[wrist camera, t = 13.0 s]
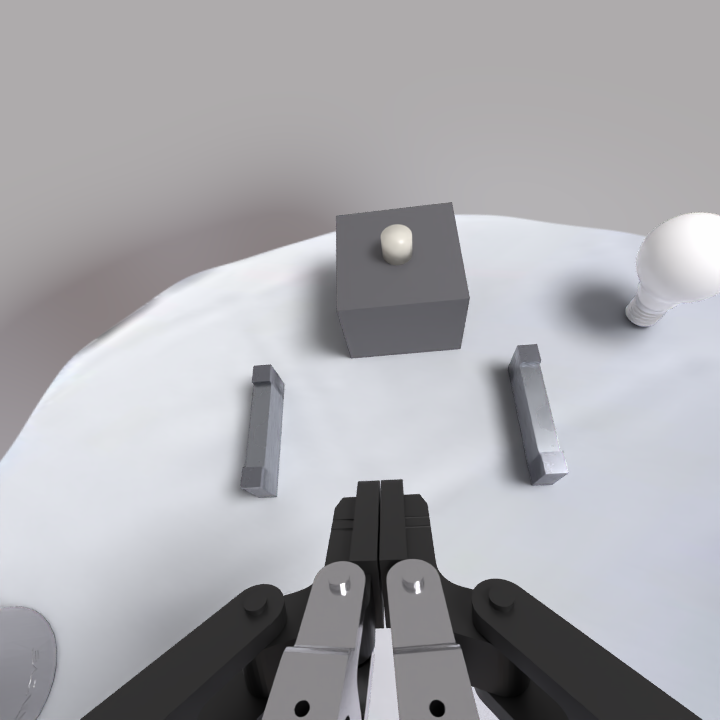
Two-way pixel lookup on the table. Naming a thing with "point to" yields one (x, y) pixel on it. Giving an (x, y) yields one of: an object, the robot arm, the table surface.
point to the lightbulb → (676, 266)
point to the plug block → (400, 281)
